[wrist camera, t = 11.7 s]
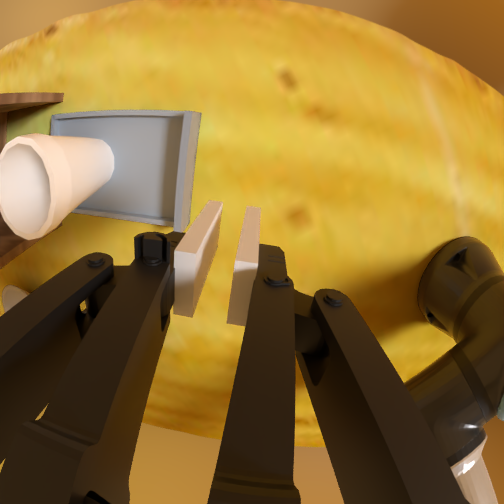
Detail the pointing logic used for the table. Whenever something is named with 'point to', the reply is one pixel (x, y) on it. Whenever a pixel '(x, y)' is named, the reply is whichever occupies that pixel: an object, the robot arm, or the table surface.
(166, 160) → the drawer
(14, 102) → the wood grain box
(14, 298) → the dish
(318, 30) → the table surface
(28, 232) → the foam cup
